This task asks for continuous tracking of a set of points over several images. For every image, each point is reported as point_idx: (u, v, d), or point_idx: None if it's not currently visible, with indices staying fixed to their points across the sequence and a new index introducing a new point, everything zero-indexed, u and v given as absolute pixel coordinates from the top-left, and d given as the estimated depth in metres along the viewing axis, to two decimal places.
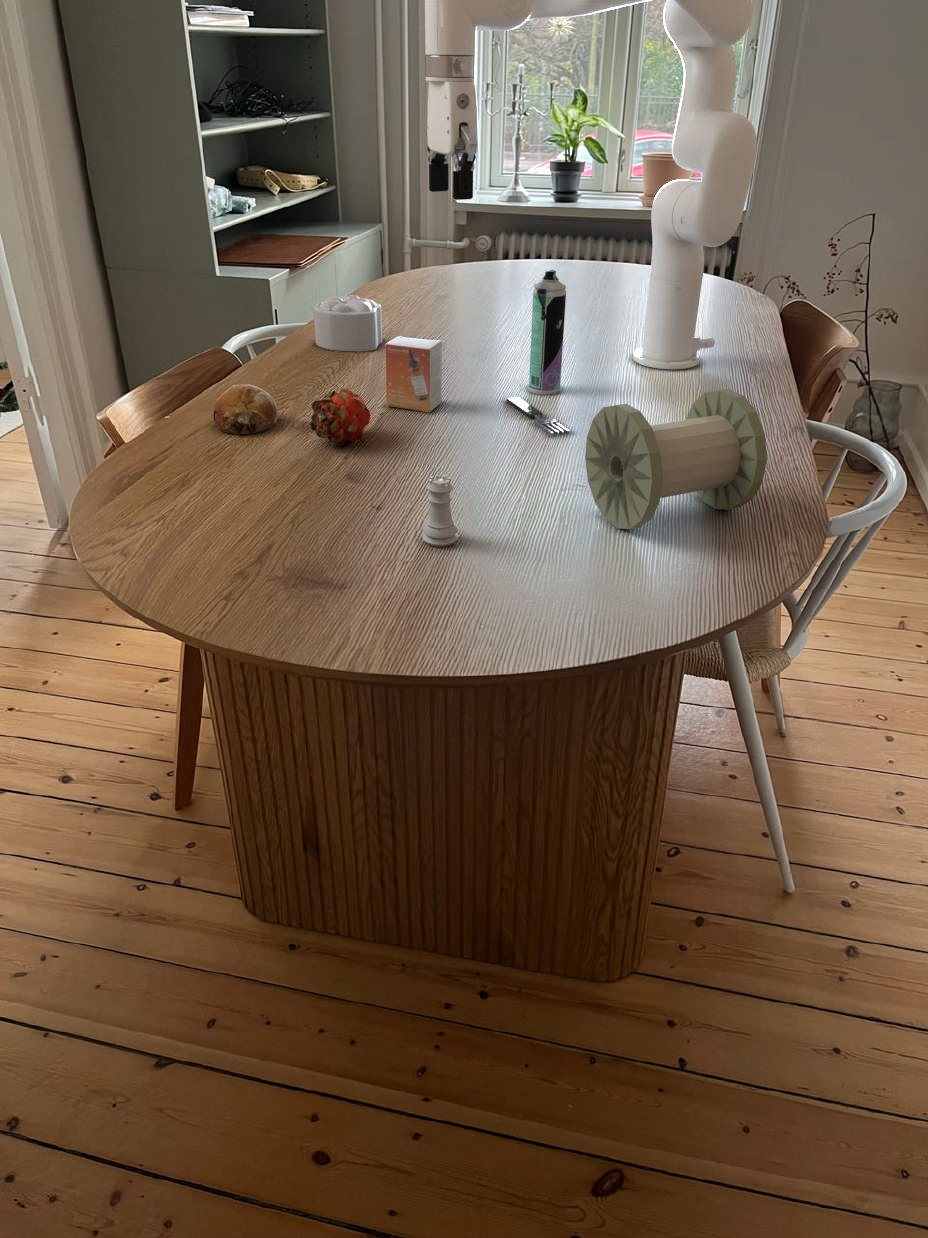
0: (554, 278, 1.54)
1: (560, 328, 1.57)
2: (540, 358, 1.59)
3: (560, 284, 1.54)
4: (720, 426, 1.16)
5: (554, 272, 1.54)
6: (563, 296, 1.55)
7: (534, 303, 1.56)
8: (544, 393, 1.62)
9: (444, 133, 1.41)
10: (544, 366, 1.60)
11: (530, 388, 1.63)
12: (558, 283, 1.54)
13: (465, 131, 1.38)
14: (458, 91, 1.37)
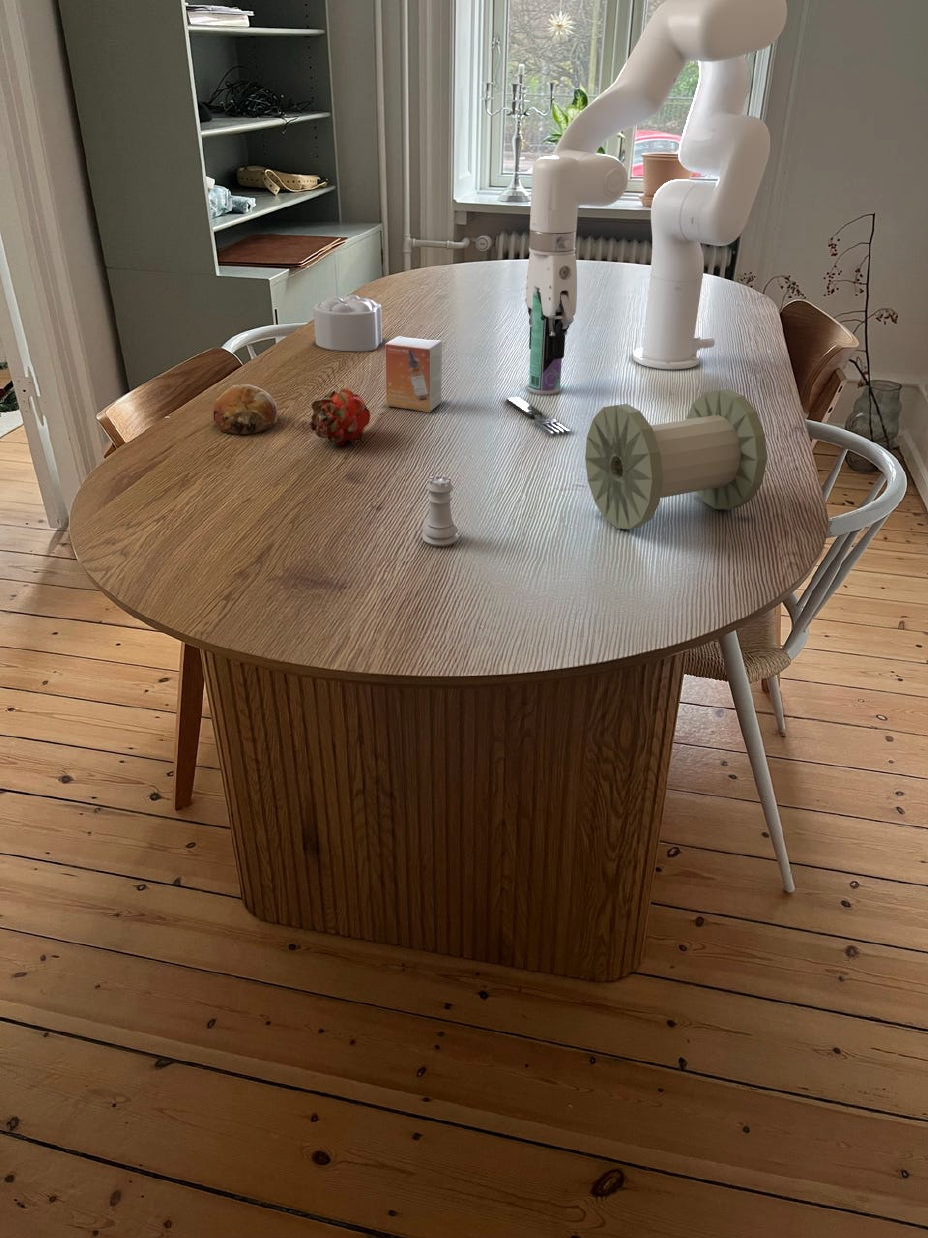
0: None
1: None
2: (540, 358, 1.59)
3: None
4: (720, 426, 1.16)
5: None
6: None
7: (534, 303, 1.56)
8: (544, 393, 1.62)
9: (545, 299, 1.53)
10: (543, 366, 1.60)
11: (530, 388, 1.63)
12: None
13: (564, 305, 1.52)
14: (561, 264, 1.49)
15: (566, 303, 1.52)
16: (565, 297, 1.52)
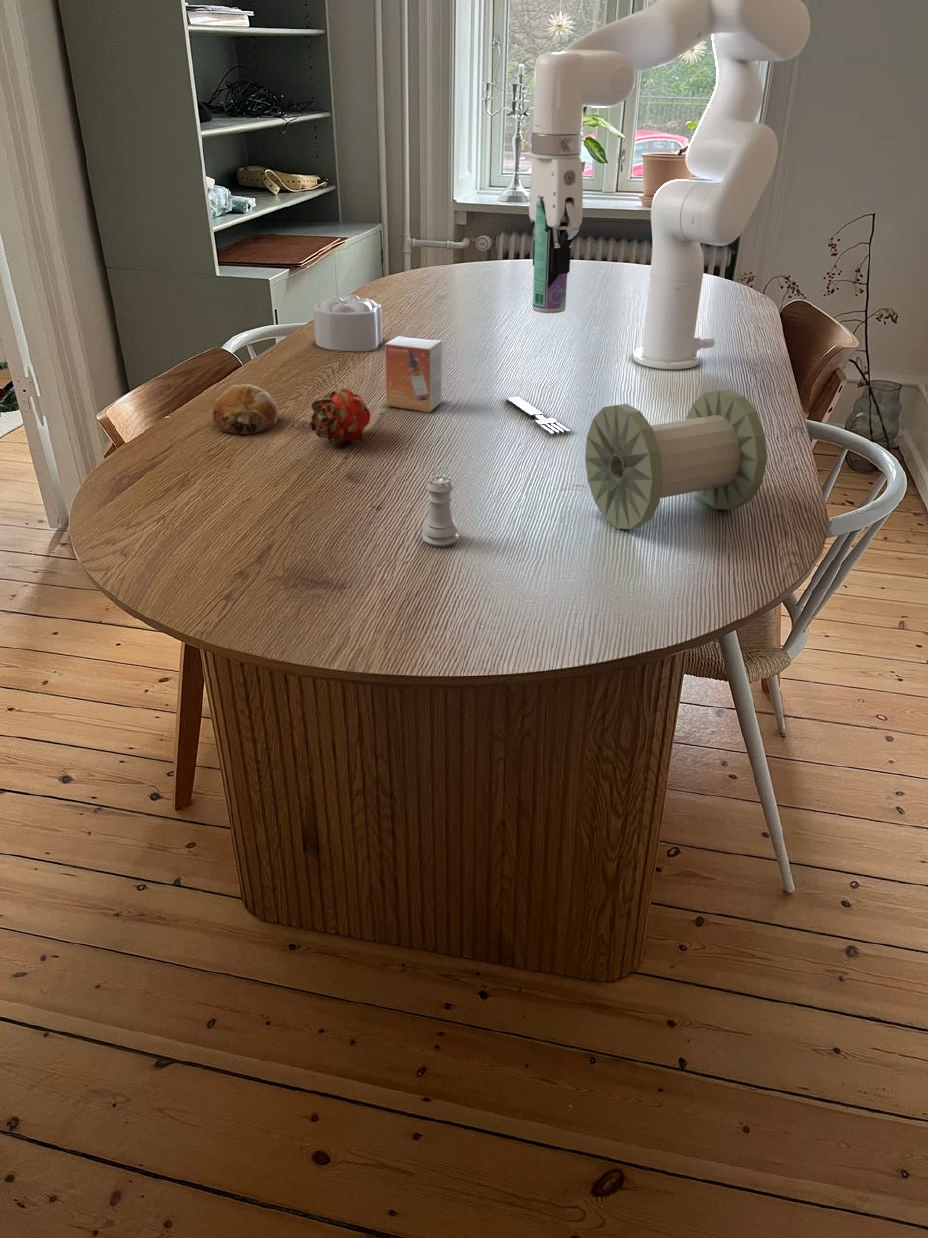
0: None
1: None
2: (545, 273, 1.52)
3: None
4: (720, 426, 1.16)
5: None
6: None
7: (537, 214, 1.48)
8: (549, 312, 1.55)
9: (550, 207, 1.45)
10: (548, 282, 1.52)
11: (534, 307, 1.56)
12: None
13: (569, 213, 1.44)
14: (565, 168, 1.42)
15: (571, 211, 1.44)
16: (570, 205, 1.44)
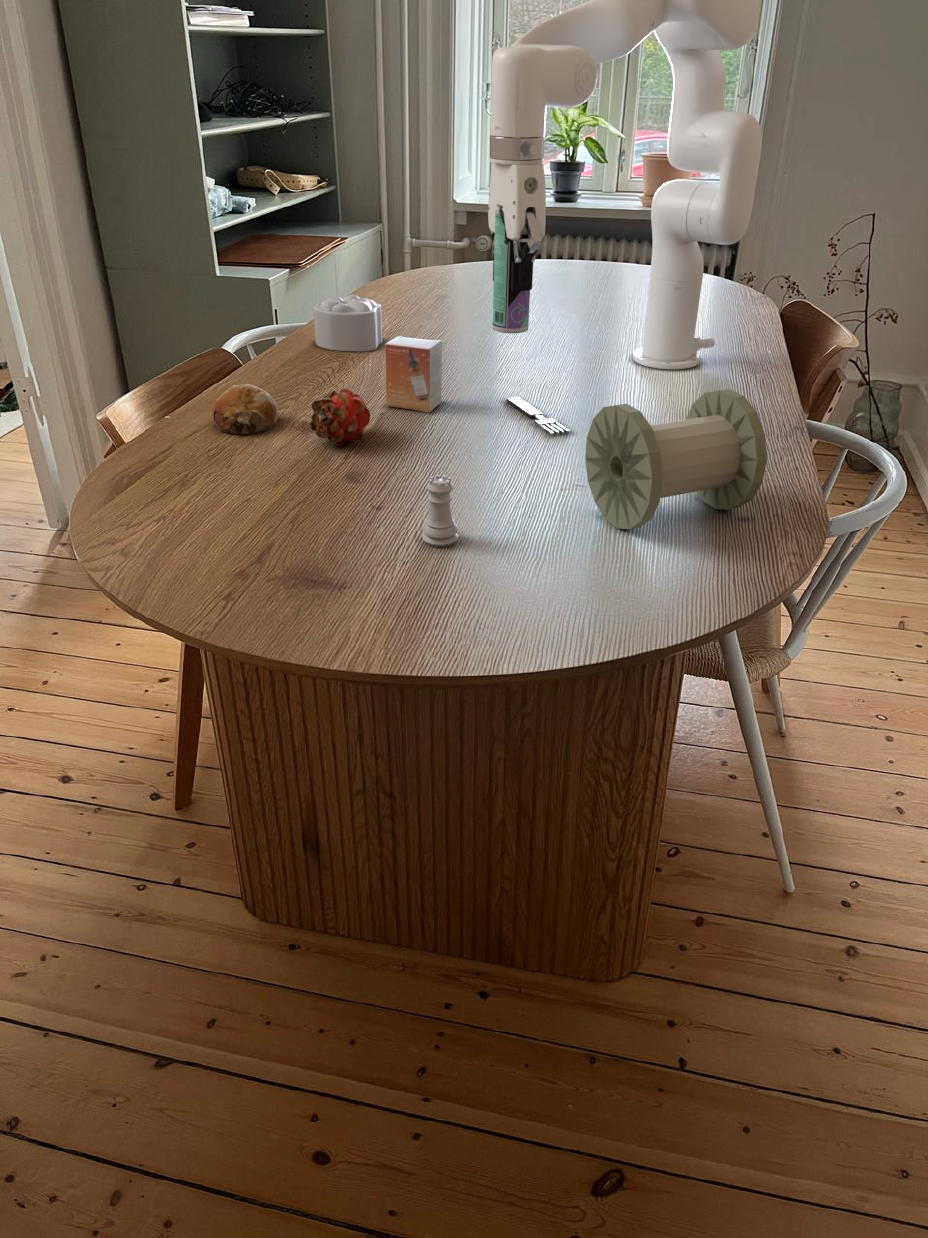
0: None
1: None
2: (505, 289, 1.38)
3: None
4: (720, 426, 1.16)
5: None
6: None
7: (496, 224, 1.34)
8: (510, 332, 1.41)
9: (509, 218, 1.31)
10: (508, 299, 1.38)
11: (494, 326, 1.42)
12: None
13: (531, 224, 1.30)
14: (526, 175, 1.28)
15: (533, 222, 1.30)
16: (532, 215, 1.30)
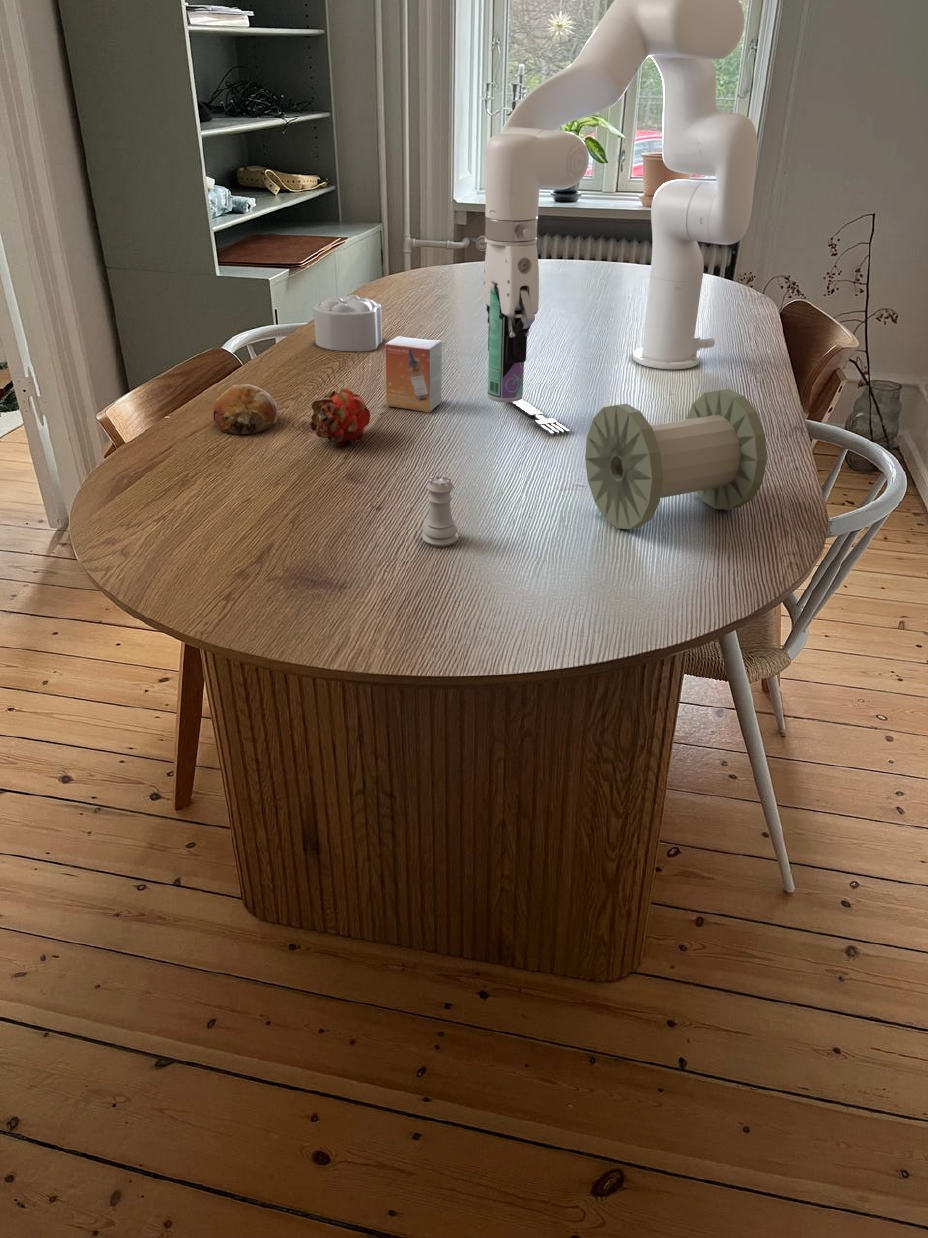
0: None
1: None
2: (499, 361, 1.42)
3: None
4: (720, 426, 1.16)
5: None
6: None
7: (491, 300, 1.39)
8: (504, 401, 1.45)
9: (504, 295, 1.36)
10: (503, 370, 1.42)
11: (489, 395, 1.46)
12: None
13: (524, 302, 1.34)
14: (520, 256, 1.32)
15: (526, 300, 1.35)
16: (525, 293, 1.35)
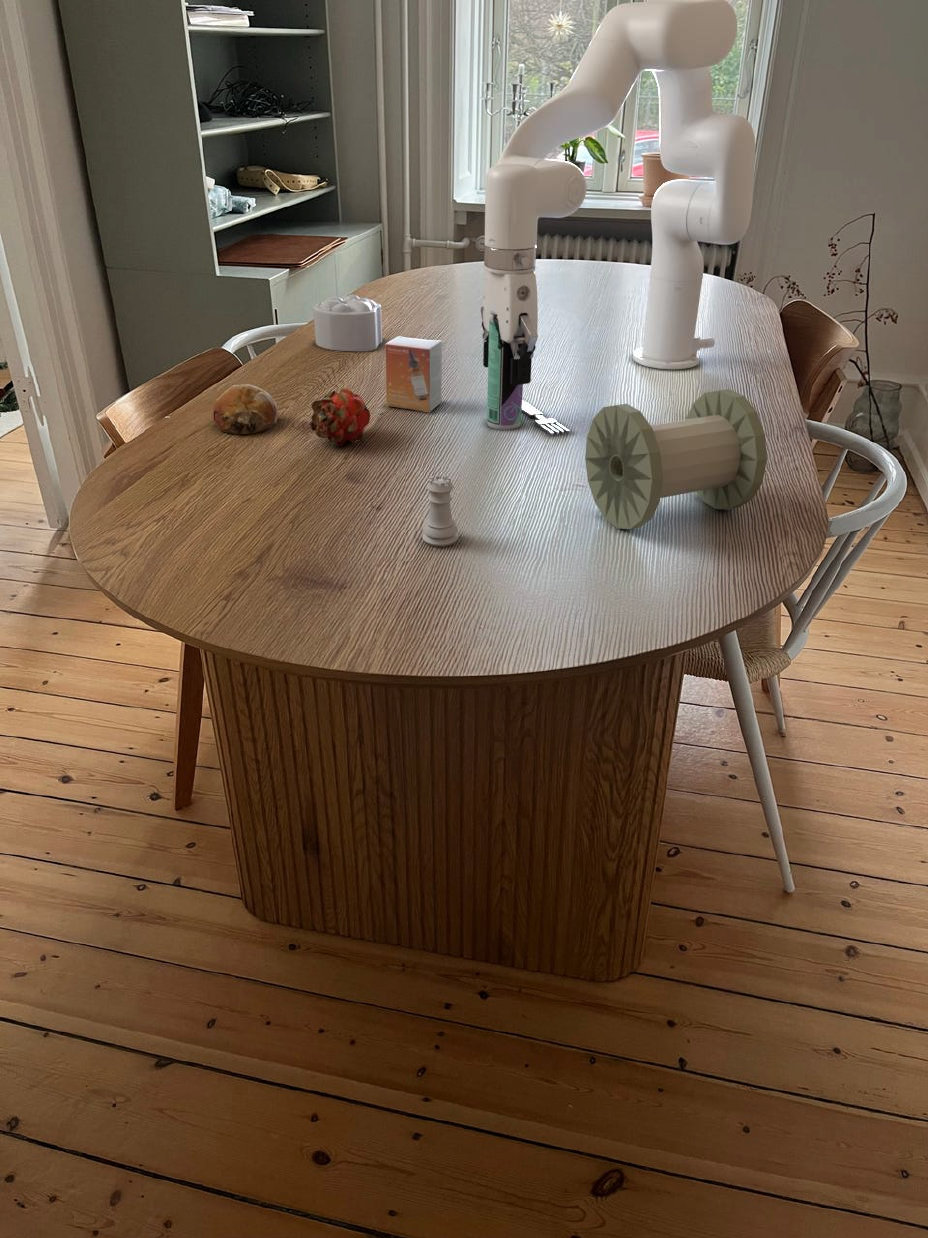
0: None
1: None
2: (498, 390, 1.44)
3: None
4: (720, 426, 1.16)
5: None
6: None
7: (490, 330, 1.41)
8: (503, 428, 1.47)
9: (503, 322, 1.38)
10: (502, 398, 1.45)
11: (488, 422, 1.49)
12: None
13: (525, 323, 1.35)
14: (519, 284, 1.34)
15: (527, 321, 1.36)
16: None
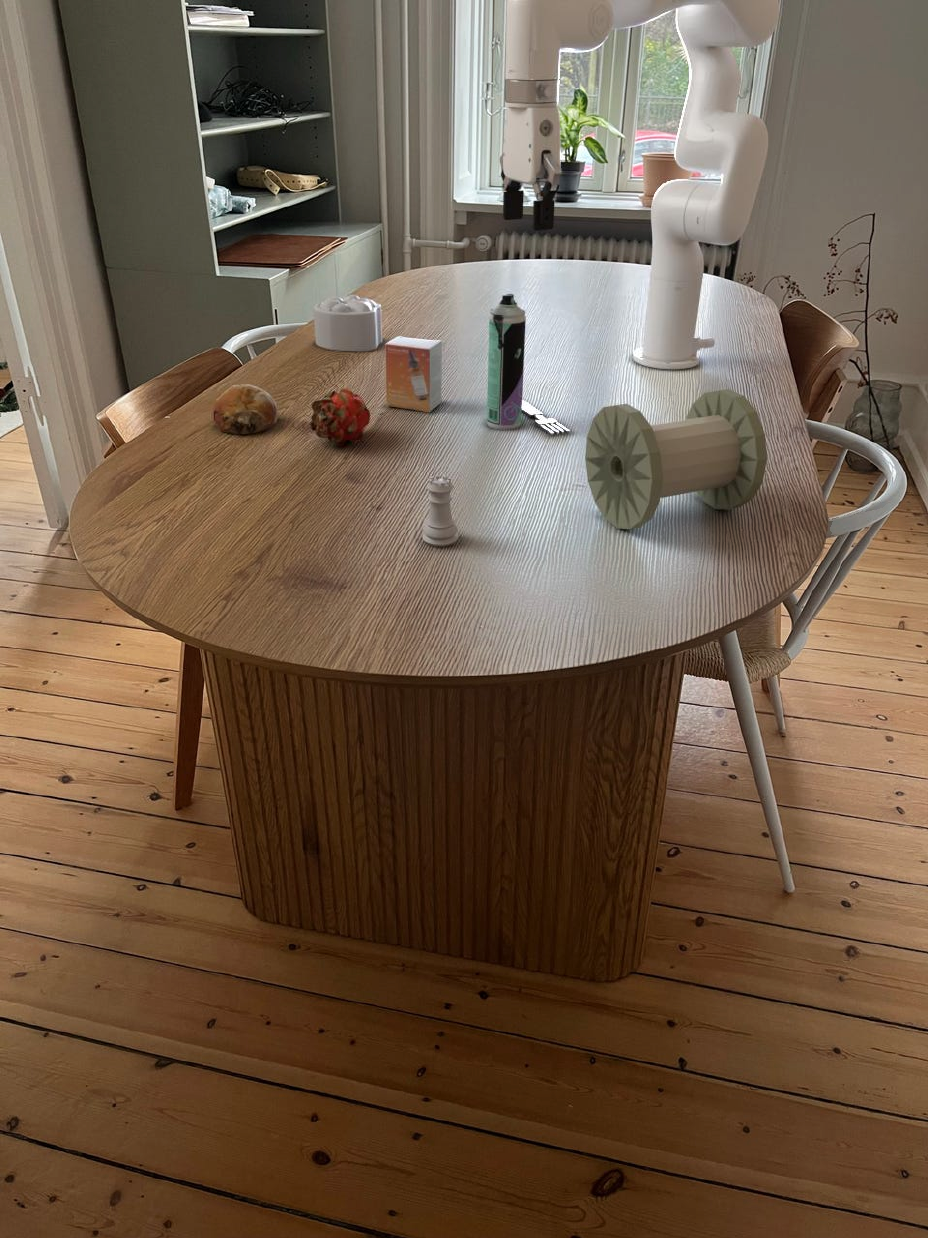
0: (512, 303, 1.39)
1: (519, 357, 1.42)
2: (498, 390, 1.44)
3: (519, 309, 1.40)
4: (720, 426, 1.16)
5: (512, 296, 1.39)
6: (522, 323, 1.40)
7: (490, 330, 1.41)
8: (503, 428, 1.47)
9: (525, 161, 1.34)
10: (502, 398, 1.45)
11: (488, 422, 1.49)
12: (516, 308, 1.39)
13: (548, 159, 1.31)
14: (541, 118, 1.30)
15: (550, 158, 1.32)
16: None
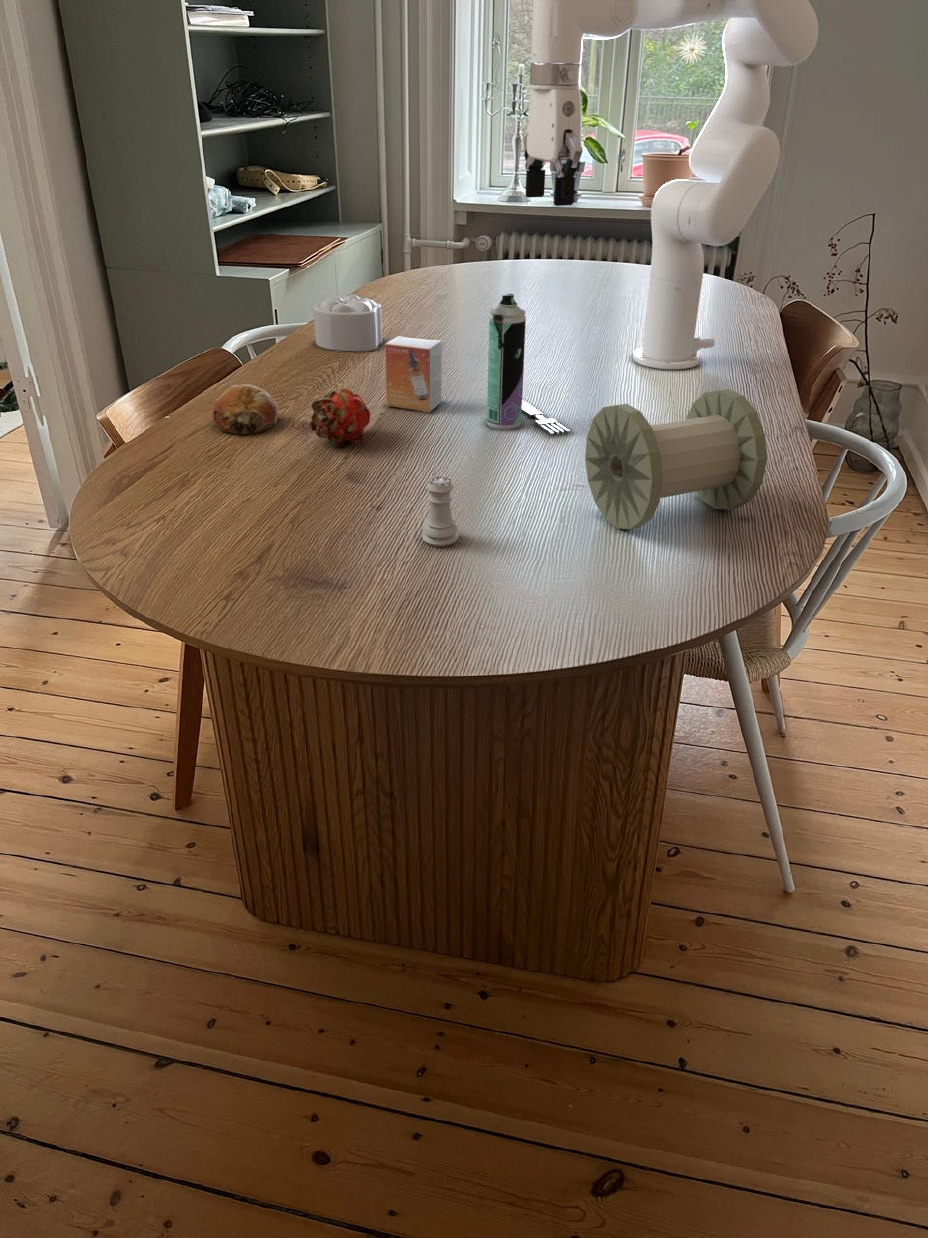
0: (512, 303, 1.39)
1: (519, 357, 1.42)
2: (498, 390, 1.44)
3: (519, 309, 1.40)
4: (720, 426, 1.16)
5: (512, 296, 1.39)
6: (522, 323, 1.40)
7: (490, 330, 1.41)
8: (503, 428, 1.47)
9: (548, 140, 1.43)
10: (502, 398, 1.45)
11: (488, 422, 1.49)
12: (516, 308, 1.39)
13: (570, 138, 1.40)
14: (564, 99, 1.39)
15: (572, 137, 1.41)
16: None
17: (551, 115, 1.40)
